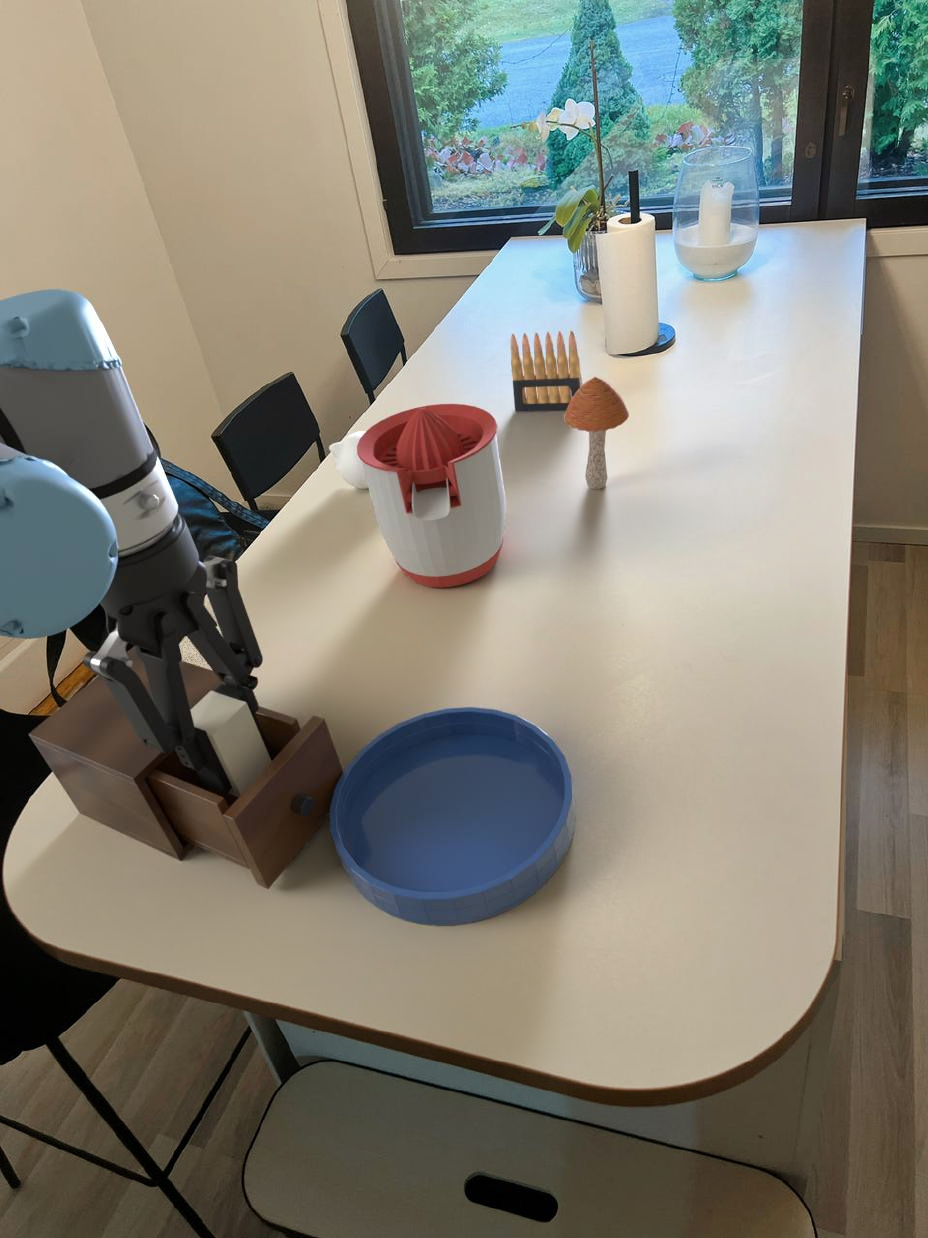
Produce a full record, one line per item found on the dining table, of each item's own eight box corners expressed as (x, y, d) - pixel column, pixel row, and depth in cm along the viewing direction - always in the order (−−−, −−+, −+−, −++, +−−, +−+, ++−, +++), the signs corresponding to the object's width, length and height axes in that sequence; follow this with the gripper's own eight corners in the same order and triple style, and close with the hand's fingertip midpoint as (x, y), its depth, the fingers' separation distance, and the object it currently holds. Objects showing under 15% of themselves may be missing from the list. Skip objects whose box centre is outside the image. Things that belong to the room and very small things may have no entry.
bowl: (505, 966, 63) (498, 939, 61) (292, 872, 73) (280, 845, 70) (612, 770, 76) (610, 742, 74) (420, 712, 85) (413, 685, 83)
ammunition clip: (585, 404, 134) (579, 327, 127) (583, 409, 133) (576, 332, 125) (517, 406, 137) (508, 331, 130) (514, 411, 136) (505, 336, 129)
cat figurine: (413, 416, 117) (329, 419, 120) (405, 487, 114) (318, 488, 117) (429, 449, 126) (350, 451, 128) (421, 516, 122) (340, 517, 125)
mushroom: (644, 485, 112) (641, 375, 103) (594, 508, 110) (586, 397, 101) (606, 464, 118) (600, 358, 109) (558, 486, 116) (547, 378, 107)
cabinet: (272, 760, 83) (238, 678, 77) (180, 861, 75) (133, 779, 69) (174, 723, 90) (134, 645, 84) (79, 813, 82) (27, 734, 76)
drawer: (360, 792, 77) (336, 722, 72) (279, 895, 70) (245, 824, 65) (246, 750, 84) (216, 683, 78) (161, 840, 76) (122, 772, 71)
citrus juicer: (383, 618, 99) (341, 460, 86) (391, 536, 112) (356, 390, 100) (520, 599, 97) (497, 437, 85) (512, 519, 111) (490, 369, 99)
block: (243, 799, 72) (212, 736, 67) (208, 785, 74) (176, 722, 69) (273, 765, 74) (246, 702, 70) (239, 753, 76) (210, 690, 72)
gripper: (63, 616, 52) (198, 858, 66) (249, 475, 63) (331, 709, 77) (-12, 592, 55) (131, 827, 69) (177, 463, 66) (267, 689, 80)
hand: (236, 765), depth 73 cm, fingers closed on block, 4 cm apart
